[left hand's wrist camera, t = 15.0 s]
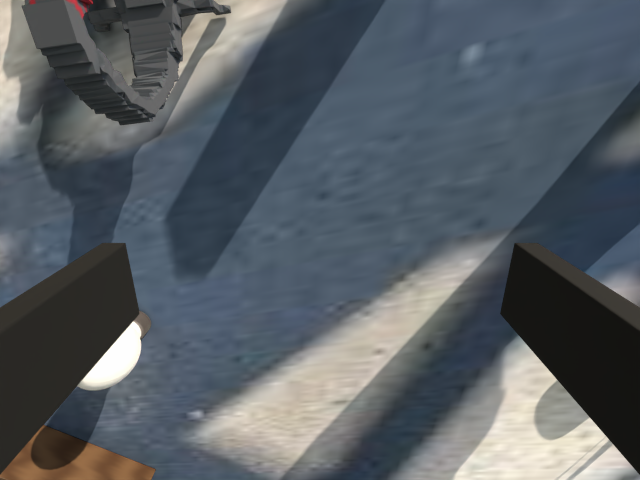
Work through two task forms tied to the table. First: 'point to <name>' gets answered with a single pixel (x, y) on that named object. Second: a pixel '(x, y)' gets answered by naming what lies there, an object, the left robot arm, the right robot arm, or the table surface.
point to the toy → (94, 67)
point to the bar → (71, 461)
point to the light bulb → (118, 357)
